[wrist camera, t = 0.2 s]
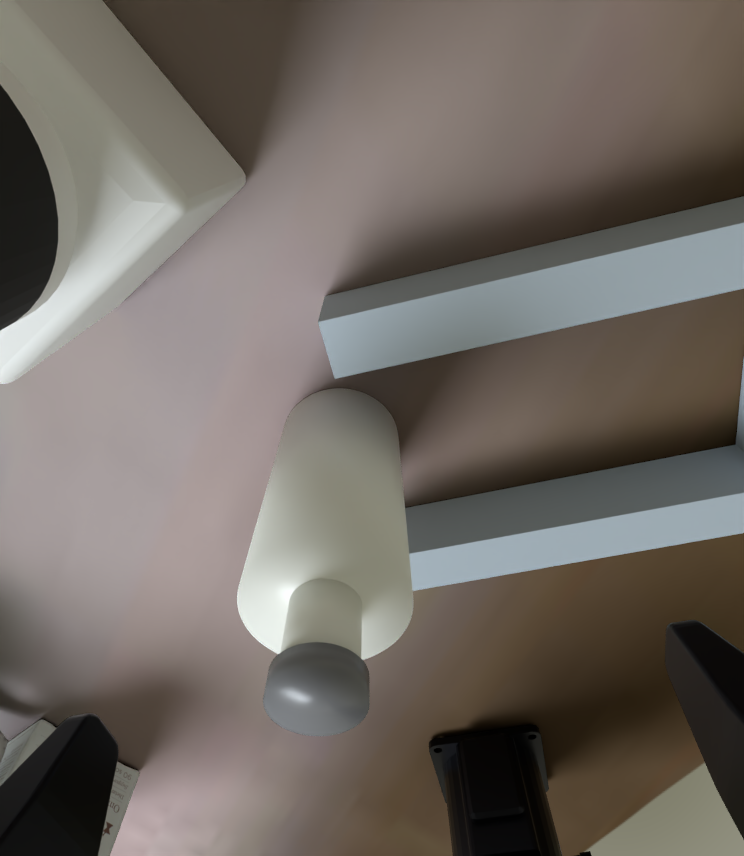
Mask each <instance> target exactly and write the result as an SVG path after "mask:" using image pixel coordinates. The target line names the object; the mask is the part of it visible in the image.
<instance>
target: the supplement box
mask: <svg viewBox="0 0 744 856" xmlns="http://www.w3.org/2000/svg"><path fill="white" fill-rule="evenodd" d="M55 729H56V727H54V726H53V725H52V724H51V723H49V722H47V721H45V720H39V721H38V722H36V723H35V724H33V725H32V726H30V727H29V728H28V729H26V730H25V731H23V732H22V733H20V734H19V735H18V736H16V737H15V738H13V739H12V740H11V741H9V742H8V743H7V746H6V750H5V753H4V756H3V758H2V761H1V763H0V786H1V784H2V783H3V782H4V781H5V780H6V779H7V778H8V777H9V776H10V775H11V774H12V773H13V772H14V771H15V770H16V769H17V768H18V767H19V766H20V765H21V764H22V763H23V762H24V761H25V760H26V759H27V758H28V757H29V756H30V755H31V754H32V753H33V752H34V751H35V750H36V749H37V748H38V747H39V746H40V745H41V744H42V743H43V742H44V741H45V740H46V739H47V737H48V736H49V735H50V734H51V733H52V732H53V731H54V730H55ZM138 777H139V771H138V770H134V769H132V768H129V767H127V766H125V765H123V764H121V763H119V762H117V766H116V771H115V776H114V781H113V786H112V790H111V795H110V800H109V805H108V810H107V815H106V820H105V825H104V830H103V835H102V840H101V844H100V849H99V853H98V856H110V853H111V851H112V848H113V845H114V843H115V840H116V837H117V834H118V832H119V829H120V826H121V823H122V821H123V818H124V815H125V813H126V810H127V807H128V804H129V801H130V799H131V796H132V793H133V791H134V788H135V785H136V783H137V780H138Z"/></svg>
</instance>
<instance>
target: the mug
mask: <svg viewBox="0 0 744 856" xmlns="http://www.w3.org/2000/svg"><path fill="white" fill-rule="evenodd" d="M7 742H8V740H7V739H6V738H5V736H4V735H3V734H2V733H1V731H0V763H1V761H2V758H3V756H4V753H5V750H6V746H7Z"/></svg>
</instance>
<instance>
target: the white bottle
mask: <svg viewBox="0 0 744 856" xmlns="http://www.w3.org/2000/svg"><path fill="white" fill-rule="evenodd" d="M237 606H238V611H239V614H240V617H241V619H242V621H243V623H244V625H245V626H246V628H247V629H248V631H249V632H250V633H251V634H252V636H254V637H255V638H256V639H257V640H258V641H259V642H260V643H261V644H263V645H264V646H265V647H267V648H268V649H270V650H272V651H274V652H275V653H277V654H278V655H277V656H276V657H275V658H274V659H273V661H272V663H271V665H270V667H269V671H268V676H267V682H266V687H265V693H264V698H263V704H264V708H265V711H266V713H267V714H268V716H269V717H270V718H271V719H272V720H273V721H274V722H275V723H276V724H278V725H279V726H281V727H283V728H284V729H286V730H289V731H291V732H294V733H298V734H302V735H308V736H329V735H335V734H339V733H343V732H345V731H348V730H350V729H352V728H354V727H355V726H357V725H358V724H359V723H360V722H361V721H362V720H363V719H364V718H365V716H366V715H367V713H368V710H369V671H368V668H367V666H366V664H365V663H364V661H363V660H364V659H367V658H370V657H372V656H374V655H377V654H379V653H380V652H382V651H384V650H386V649H387V648H388V647H390V646H391V645H392V644H394V643H395V642H396V641H397V640H398V639H399V638H400V637H401V635H402V634H403V633H404V632H405V630H406V628H407V626H408V625H409V622H410V620H411V617H412V613H413V590H412V579H411V568H410V557H409V546H408V535H407V524H406V513H405V502H404V491H403V480H402V469H401V458H400V447H399V436H398V430H397V426H396V423H395V421H394V419H393V417H392V415H391V414H390V413H389V411H388V410H387V409H386V408H385V407H384V405H382V404H381V403H380V402H379V401H378V400H376V399H375V398H373V397H371V396H369V395H367V394H365V393H363V392H360V391H357V390H352V389H345V388H333V389H326V390H322V391H319V392H316V393H314V394H311V395H310V396H308V397H306V398H305V399H303V400H302V401H301V402H299V403H298V404H297V405H296V406H295V407H294V408H293V410H292V411H291V413H290V414H289V416H288V418H287V420H286V423H285V426H284V429H283V433H282V436H281V440H280V443H279V447H278V450H277V454H276V457H275V461H274V464H273V468H272V471H271V475H270V478H269V482H268V485H267V489H266V492H265V496H264V499H263V503H262V506H261V510H260V513H259V517H258V520H257V524H256V527H255V531H254V534H253V538H252V541H251V545H250V548H249V552H248V555H247V559H246V562H245V566H244V569H243V573H242V576H241V580H240V583H239V587H238V593H237Z"/></svg>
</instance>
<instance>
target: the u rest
mask: <svg viewBox="0 0 744 856" xmlns="http://www.w3.org/2000/svg"><path fill="white" fill-rule="evenodd" d="M743 288H744V196H743V197H739V198H735V199H730V200H726V201H722V202H718V203H714V204H709V205H705V206H701V207H697V208H693V209H688V210H684V211H680V212H676V213H672V214H667V215H663V216H659V217H655V218H651V219H647V220H642V221H638V222H634V223H630V224H626V225H621V226H617V227H613V228H609V229H605V230H600V231H596V232H592V233H588V234H584V235H579V236H575V237H571V238H567V239H563V240H559V241H554V242H550V243H546V244H542V245H538V246H533V247H529V248H525V249H521V250H517V251H512V252H508V253H504V254H500V255H496V256H491V257H487V258H483V259H479V260H475V261H471V262H466V263H462V264H458V265H454V266H450V267H445V268H441V269H437V270H433V271H429V272H424V273H420V274H416V275H412V276H408V277H403V278H399V279H395V280H391V281H387V282H382V283H378V284H374V285H370V286H366V287H362V288H357V289H353V290H349V291H345V292H341V293H336V294H332V295H328V296H325V298H324V302H323V305H322V309H321V313H320V317H319V320H318V324H319V327H320V330H321V334H322V337H323V341H324V344H325V347H326V351H327V354H328V358H329V361H330V364H331V368H332V371H333V375H334V378H335V379H337V378H341V377H346V376H350V375H355V374H359V373H364V372H368V371H373V370H377V369H382V368H386V367H391V366H395V365H400V364H404V363H409V362H413V361H418V360H422V359H427V358H432V357H436V356H441V355H445V354H450V353H454V352H459V351H463V350H468V349H472V348H477V347H481V346H486V345H490V344H495V343H499V342H504V341H508V340H513V339H517V338H522V337H526V336H531V335H535V334H540V333H545V332H549V331H554V330H558V329H563V328H567V327H572V326H576V325H581V324H585V323H590V322H594V321H599V320H603V319H608V318H612V317H617V316H621V315H626V314H630V313H635V312H639V311H644V310H648V309H653V308H658V307H662V306H667V305H671V304H676V303H680V302H685V301H689V300H694V299H698V298H703V297H707V296H712V295H716V294H721V293H725V292H730V291H734V290H739V289H743ZM405 513H406V524H407V535H408V546H409V557H410V568H411V579H412V590H413V591H415V590H421V589H426V588H432V587H438V586H444V585H449V584H455V583H461V582H466V581H472V580H478V579H484V578H489V577H495V576H501V575H506V574H512V573H518V572H523V571H529V570H535V569H541V568H546V567H552V566H558V565H563V564H569V563H575V562H581V561H586V560H592V559H598V558H603V557H609V556H615V555H621V554H626V553H632V552H638V551H643V550H649V549H655V548H661V547H666V546H672V545H678V544H683V543H689V542H695V541H701V540H706V539H712V538H718V537H723V536H729V535H735V534H741V533H744V360H743V371H742V382H741V392H740V403H739V414H738V425H737V435H736V445H731V446H726V447H720V448H715V449H710V450H705V451H699V452H694V453H689V454H684V455H679V456H673V457H668V458H663V459H658V460H653V461H647V462H642V463H637V464H632V465H627V466H621V467H616V468H611V469H606V470H601V471H595V472H590V473H585V474H580V475H575V476H569V477H564V478H559V479H554V480H548V481H543V482H538V483H533V484H528V485H522V486H517V487H512V488H507V489H502V490H496V491H491V492H486V493H481V494H476V495H470V496H465V497H460V498H455V499H450V500H444V501H439V502H434V503H429V504H424V505H418V506H413V507H408V508H405Z"/></svg>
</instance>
